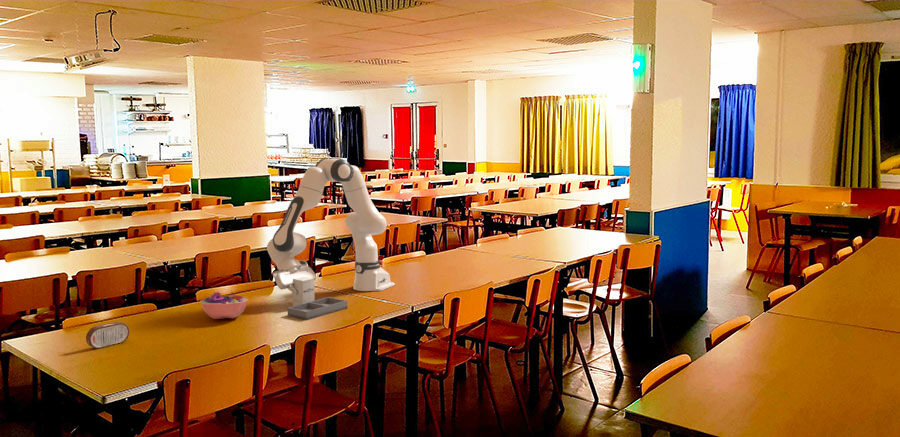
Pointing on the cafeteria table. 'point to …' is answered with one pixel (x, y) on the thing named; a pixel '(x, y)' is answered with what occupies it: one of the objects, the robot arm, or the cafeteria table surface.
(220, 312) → the cell model
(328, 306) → the grey divided tray
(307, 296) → the supplement box
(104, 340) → the tin
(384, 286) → the robot arm
